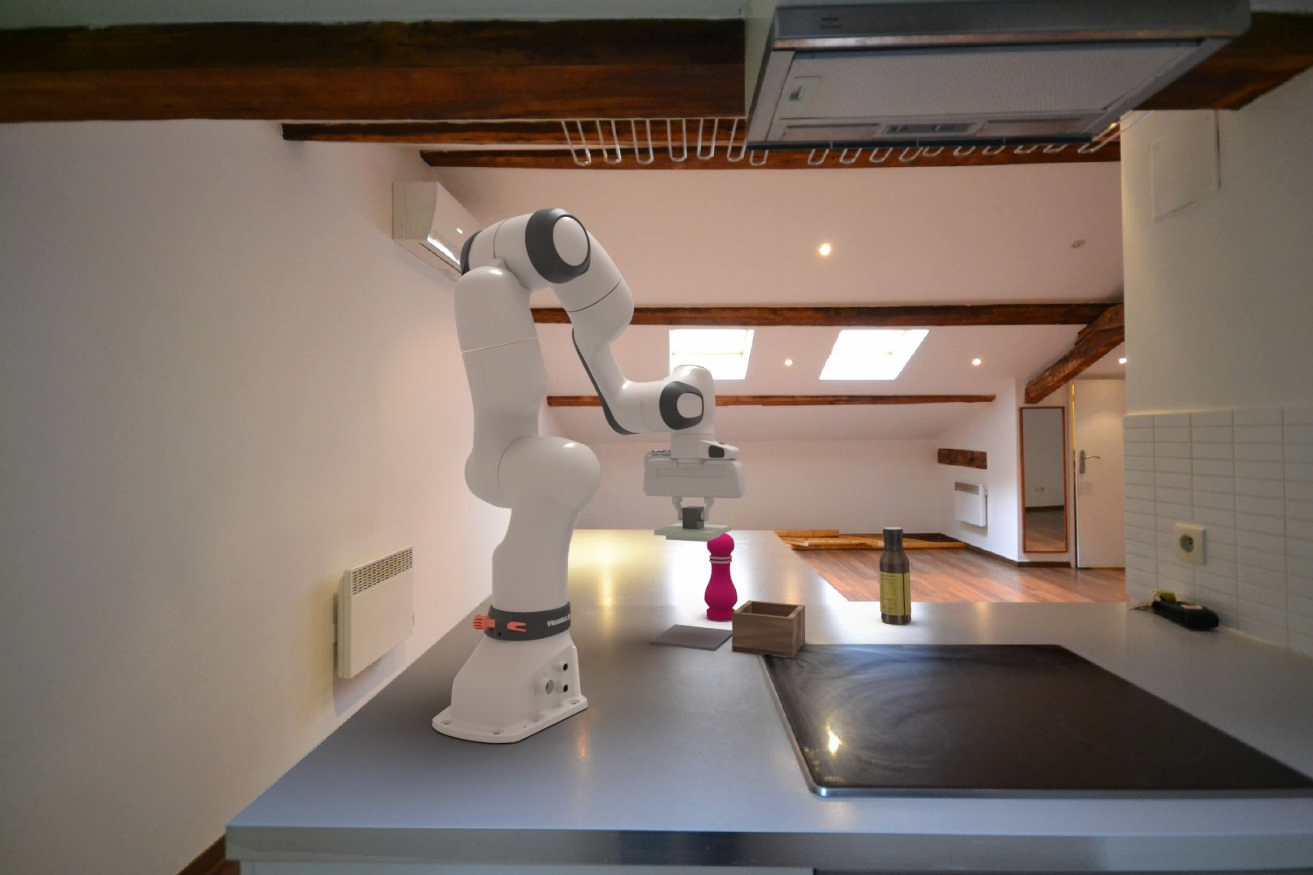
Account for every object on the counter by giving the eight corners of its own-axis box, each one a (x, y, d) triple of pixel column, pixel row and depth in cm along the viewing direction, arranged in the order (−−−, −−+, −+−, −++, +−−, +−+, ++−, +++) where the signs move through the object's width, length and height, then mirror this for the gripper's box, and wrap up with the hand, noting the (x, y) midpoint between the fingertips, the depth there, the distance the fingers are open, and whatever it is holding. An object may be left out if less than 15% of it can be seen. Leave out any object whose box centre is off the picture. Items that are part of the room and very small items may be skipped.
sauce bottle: (900, 617, 152) (899, 525, 152) (917, 624, 146) (916, 528, 146) (873, 618, 151) (873, 526, 151) (889, 626, 145) (889, 529, 145)
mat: (714, 651, 128) (714, 648, 128) (649, 643, 133) (649, 640, 133) (735, 633, 140) (735, 630, 140) (675, 626, 145) (675, 624, 145)
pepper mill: (699, 615, 155) (698, 524, 155) (729, 612, 157) (729, 523, 157) (711, 623, 148) (711, 528, 148) (743, 620, 150) (742, 526, 150)
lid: (712, 543, 129) (711, 510, 129) (654, 540, 134) (654, 508, 134) (730, 535, 140) (730, 505, 140) (676, 533, 144) (676, 503, 144)
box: (792, 658, 123) (792, 618, 124) (732, 651, 128) (732, 612, 128) (805, 642, 134) (804, 605, 134) (748, 635, 138) (748, 600, 138)
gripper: (637, 449, 138) (637, 520, 138) (738, 449, 130) (738, 524, 130) (650, 449, 144) (650, 516, 144) (747, 449, 136) (747, 521, 136)
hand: (693, 520), depth 137 cm, fingers closed on lid, 3 cm apart
